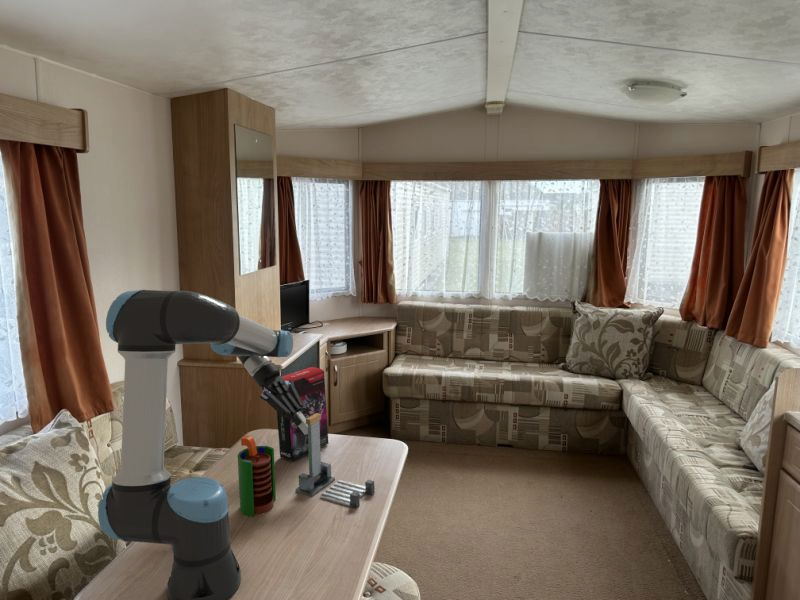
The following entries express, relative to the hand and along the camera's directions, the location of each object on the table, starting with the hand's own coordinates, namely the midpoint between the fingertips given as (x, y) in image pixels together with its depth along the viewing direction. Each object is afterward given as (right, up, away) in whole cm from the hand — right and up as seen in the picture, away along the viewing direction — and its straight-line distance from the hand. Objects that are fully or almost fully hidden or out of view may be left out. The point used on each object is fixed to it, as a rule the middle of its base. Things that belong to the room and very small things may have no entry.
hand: (309, 431), depth 164 cm
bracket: (+8, -17, -2) cm, 19 cm away
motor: (-13, -19, -9) cm, 24 cm away
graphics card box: (-6, -13, +25) cm, 29 cm away
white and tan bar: (+2, -15, +2) cm, 15 cm away
